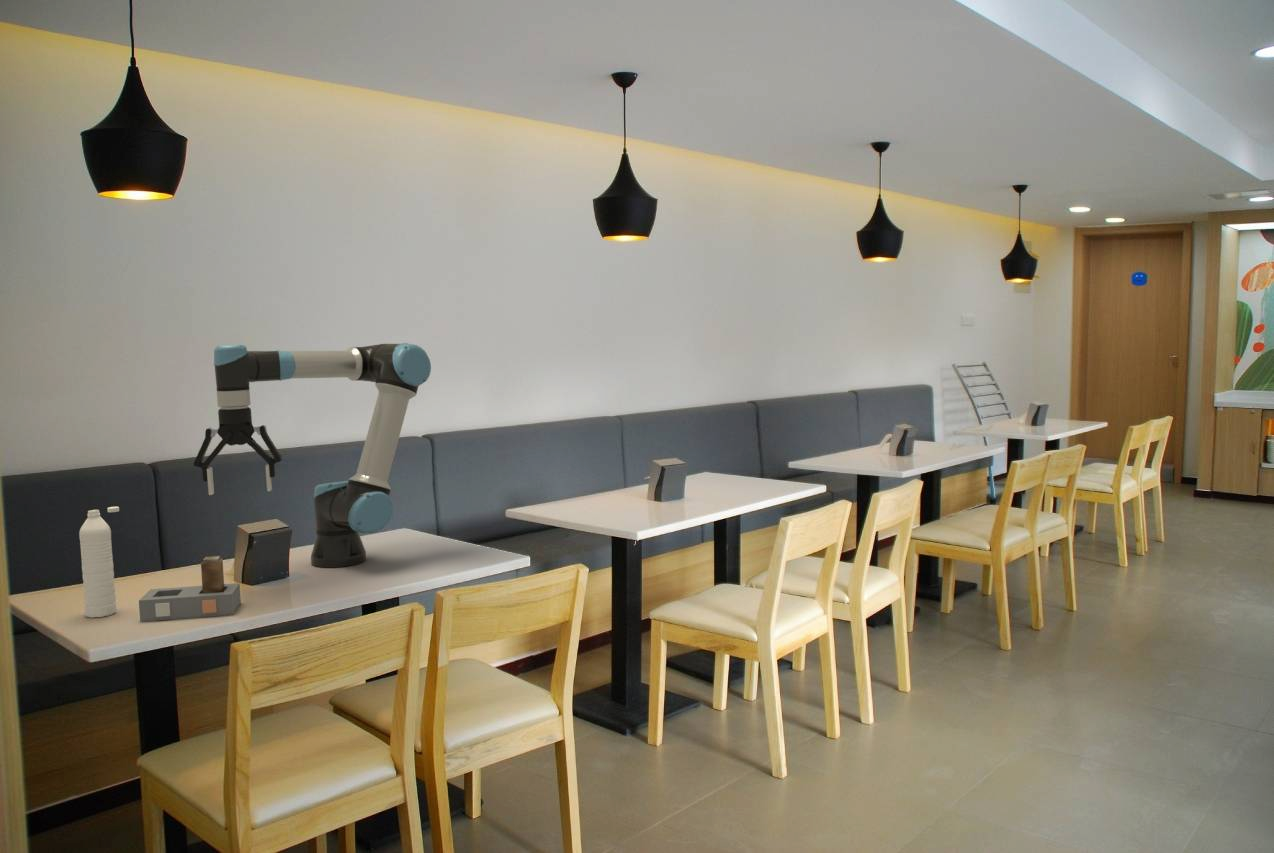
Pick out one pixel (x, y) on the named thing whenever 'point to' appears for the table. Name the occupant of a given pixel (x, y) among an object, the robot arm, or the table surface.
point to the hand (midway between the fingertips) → (240, 492)
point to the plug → (212, 575)
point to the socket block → (188, 603)
